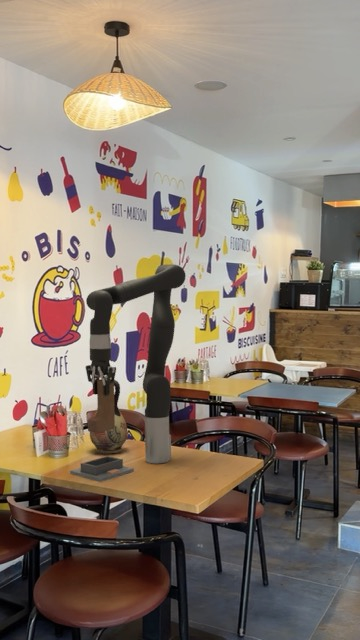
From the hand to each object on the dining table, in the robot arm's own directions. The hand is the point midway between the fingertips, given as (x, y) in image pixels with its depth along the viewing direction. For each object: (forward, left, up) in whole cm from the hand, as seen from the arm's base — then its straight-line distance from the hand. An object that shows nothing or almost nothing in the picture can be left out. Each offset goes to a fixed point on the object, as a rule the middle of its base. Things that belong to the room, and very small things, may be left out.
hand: (101, 394), depth 220 cm
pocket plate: (0, 0, -28) cm, 28 cm away
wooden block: (0, 0, -13) cm, 13 cm away
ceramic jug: (-23, -20, -28) cm, 41 cm away
